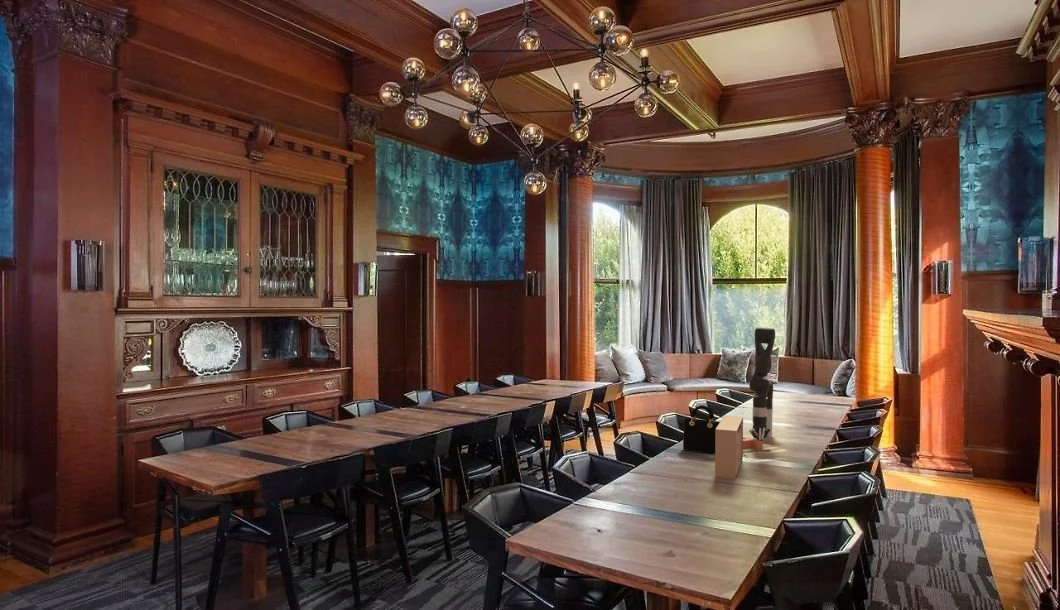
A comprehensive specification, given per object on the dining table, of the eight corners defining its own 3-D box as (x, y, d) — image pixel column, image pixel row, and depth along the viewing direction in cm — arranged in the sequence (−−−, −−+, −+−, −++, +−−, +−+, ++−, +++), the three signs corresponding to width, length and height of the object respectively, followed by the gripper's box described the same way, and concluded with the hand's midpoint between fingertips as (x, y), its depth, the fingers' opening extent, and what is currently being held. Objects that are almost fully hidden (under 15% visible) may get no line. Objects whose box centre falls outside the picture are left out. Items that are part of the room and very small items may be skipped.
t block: (731, 446, 356) (731, 437, 356) (748, 445, 359) (748, 436, 359) (745, 451, 344) (745, 442, 344) (762, 450, 348) (762, 441, 348)
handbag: (723, 452, 348) (723, 406, 348) (718, 455, 341) (719, 408, 340) (686, 447, 359) (687, 402, 359) (681, 450, 352) (681, 405, 352)
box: (743, 460, 332) (744, 416, 331) (737, 479, 295) (737, 431, 294) (723, 458, 335) (724, 415, 335) (714, 477, 298) (715, 429, 298)
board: (718, 446, 361) (718, 442, 361) (759, 443, 370) (759, 439, 370) (746, 456, 338) (746, 452, 338) (788, 453, 347) (788, 449, 347)
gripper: (764, 412, 360) (764, 443, 360) (745, 414, 355) (745, 445, 356) (774, 415, 353) (774, 446, 353) (754, 417, 348) (754, 448, 348)
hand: (759, 446), depth 354 cm, fingers closed
